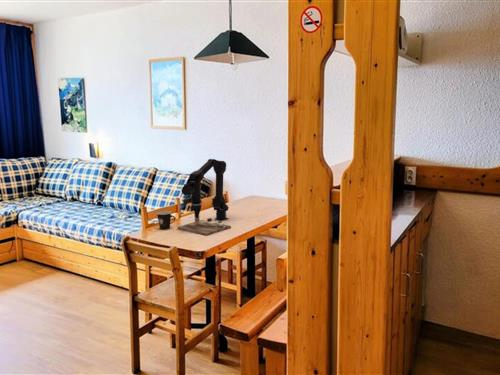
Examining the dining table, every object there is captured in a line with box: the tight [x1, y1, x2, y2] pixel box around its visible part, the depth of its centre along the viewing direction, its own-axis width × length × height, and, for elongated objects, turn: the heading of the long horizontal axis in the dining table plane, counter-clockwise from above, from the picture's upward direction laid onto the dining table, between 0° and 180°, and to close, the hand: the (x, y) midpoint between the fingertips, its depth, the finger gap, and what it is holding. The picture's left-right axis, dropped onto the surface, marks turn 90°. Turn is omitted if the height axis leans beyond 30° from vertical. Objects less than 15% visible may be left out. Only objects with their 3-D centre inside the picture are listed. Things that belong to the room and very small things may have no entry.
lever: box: [193, 211, 225, 227], centre depth 275 cm, size 20×4×8 cm, turn 68°
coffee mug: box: [156, 210, 176, 231], centre depth 278 cm, size 12×9×10 cm
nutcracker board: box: [177, 217, 232, 237], centre depth 276 cm, size 21×26×4 cm
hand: (196, 217), depth 278 cm, fingers open, 3 cm apart
